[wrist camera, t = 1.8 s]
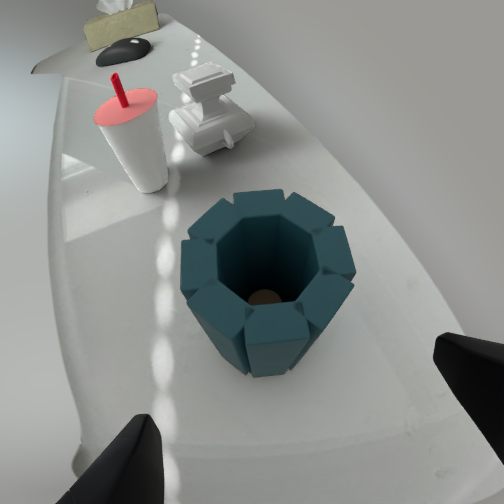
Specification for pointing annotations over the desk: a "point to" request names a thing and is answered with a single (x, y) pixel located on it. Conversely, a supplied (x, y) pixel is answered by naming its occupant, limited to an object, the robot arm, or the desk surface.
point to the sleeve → (265, 277)
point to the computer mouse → (123, 51)
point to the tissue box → (120, 22)
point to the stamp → (209, 110)
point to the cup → (135, 135)
